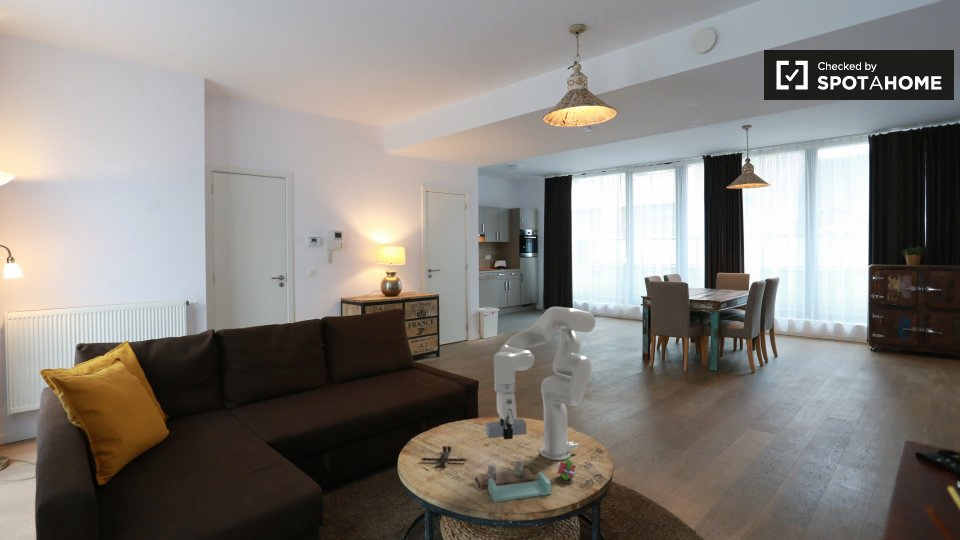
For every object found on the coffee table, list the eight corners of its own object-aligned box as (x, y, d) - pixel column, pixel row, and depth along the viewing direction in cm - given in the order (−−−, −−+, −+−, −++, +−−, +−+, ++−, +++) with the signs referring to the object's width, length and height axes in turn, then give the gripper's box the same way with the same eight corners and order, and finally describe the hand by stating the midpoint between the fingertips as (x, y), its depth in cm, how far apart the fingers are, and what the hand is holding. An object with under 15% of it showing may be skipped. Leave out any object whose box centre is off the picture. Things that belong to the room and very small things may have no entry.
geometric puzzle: (574, 465, 177) (562, 451, 176) (584, 473, 171) (572, 458, 169) (560, 479, 176) (549, 465, 174) (570, 488, 169) (558, 473, 167)
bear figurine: (468, 445, 195) (465, 457, 181) (468, 456, 195) (465, 468, 181) (425, 444, 197) (418, 456, 182) (425, 455, 196) (418, 467, 182)
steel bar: (522, 429, 175) (522, 418, 175) (526, 433, 171) (526, 423, 171) (485, 433, 172) (485, 422, 172) (489, 438, 168) (488, 427, 167)
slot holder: (542, 483, 169) (542, 472, 169) (550, 494, 161) (550, 482, 161) (488, 490, 164) (488, 478, 164) (494, 502, 156) (494, 490, 156)
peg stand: (527, 471, 178) (527, 456, 178) (535, 481, 170) (535, 466, 170) (476, 477, 173) (476, 462, 173) (481, 488, 166) (481, 472, 165)
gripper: (522, 392, 163) (523, 444, 164) (508, 379, 180) (509, 426, 181) (501, 394, 161) (502, 446, 162) (489, 381, 178) (490, 428, 179)
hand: (506, 435), depth 171 cm, fingers closed on steel bar, 4 cm apart
